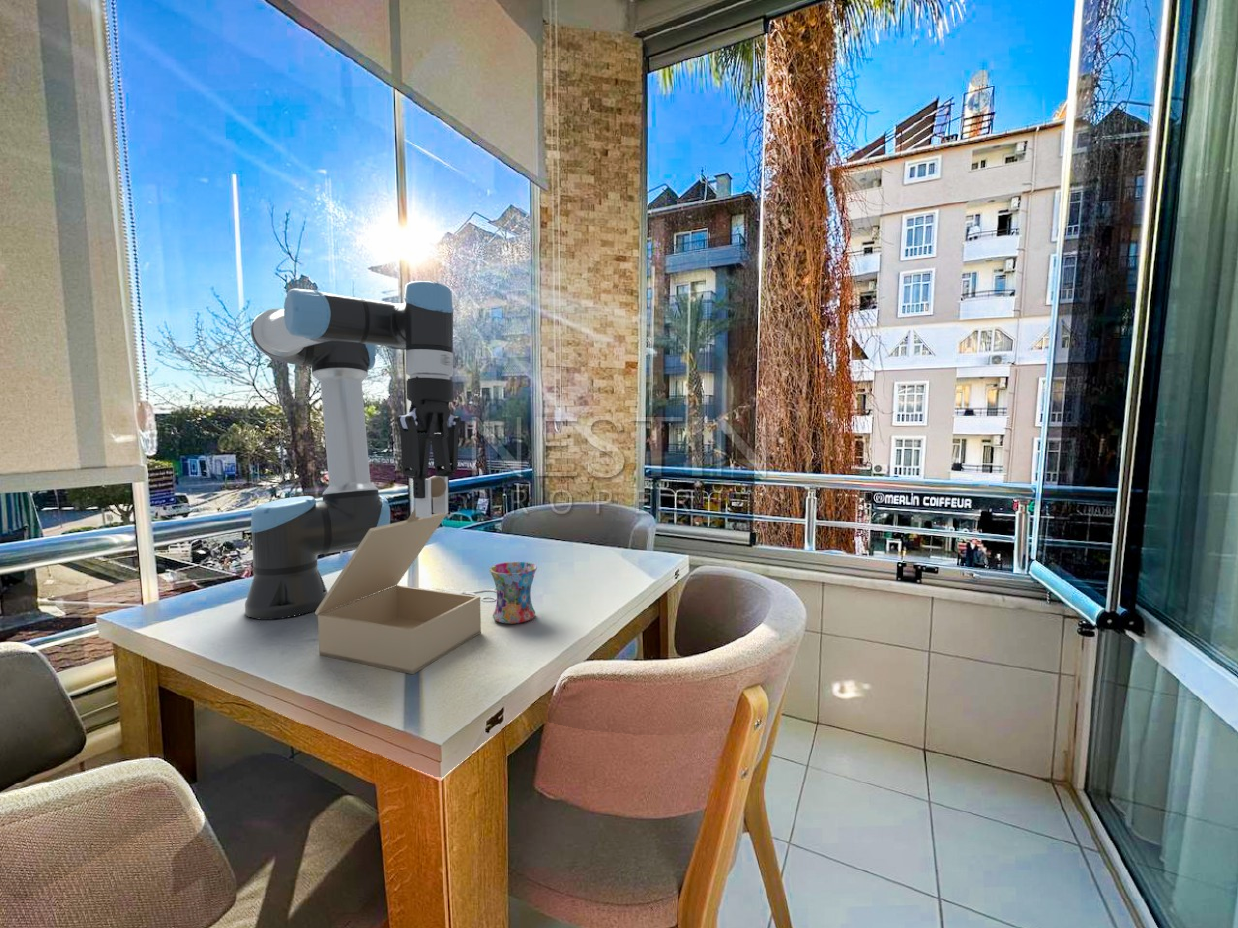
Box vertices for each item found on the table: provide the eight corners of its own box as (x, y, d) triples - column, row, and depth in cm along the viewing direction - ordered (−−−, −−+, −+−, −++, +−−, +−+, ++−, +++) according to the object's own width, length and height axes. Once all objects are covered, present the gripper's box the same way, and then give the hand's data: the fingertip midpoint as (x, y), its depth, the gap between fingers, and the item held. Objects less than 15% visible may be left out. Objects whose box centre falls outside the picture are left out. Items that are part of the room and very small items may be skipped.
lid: (321, 621, 90) (309, 606, 90) (401, 589, 107) (390, 577, 108) (408, 492, 81) (393, 476, 82) (479, 480, 98) (467, 467, 99)
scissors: (500, 601, 117) (415, 596, 120) (500, 605, 118) (415, 599, 120) (516, 587, 128) (438, 582, 131) (516, 590, 128) (438, 585, 131)
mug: (520, 630, 102) (520, 576, 101) (481, 623, 105) (480, 570, 105) (552, 610, 113) (551, 561, 112) (515, 604, 116) (514, 556, 116)
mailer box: (319, 654, 91) (317, 614, 90) (397, 618, 107) (396, 585, 107) (413, 674, 84) (411, 631, 83) (480, 632, 100) (480, 596, 100)
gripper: (412, 373, 80) (415, 525, 82) (478, 381, 96) (479, 509, 98) (374, 374, 83) (377, 521, 85) (444, 382, 99) (446, 506, 101)
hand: (432, 514), depth 91 cm, fingers closed on lid, 4 cm apart
